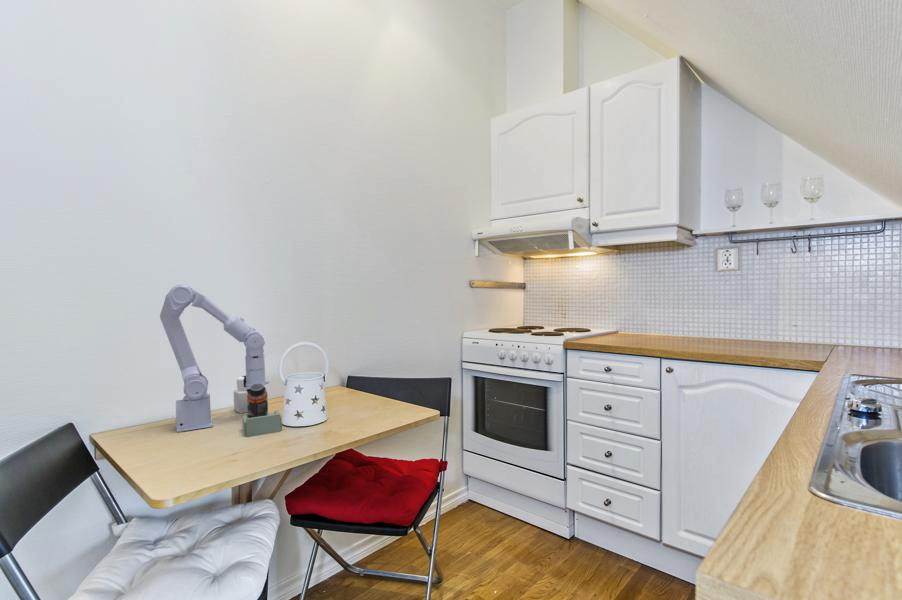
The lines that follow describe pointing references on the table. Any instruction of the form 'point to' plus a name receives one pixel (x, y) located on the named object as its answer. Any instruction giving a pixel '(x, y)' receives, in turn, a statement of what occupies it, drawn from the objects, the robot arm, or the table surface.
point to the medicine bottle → (241, 396)
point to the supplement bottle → (257, 401)
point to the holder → (262, 424)
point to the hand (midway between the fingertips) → (257, 410)
